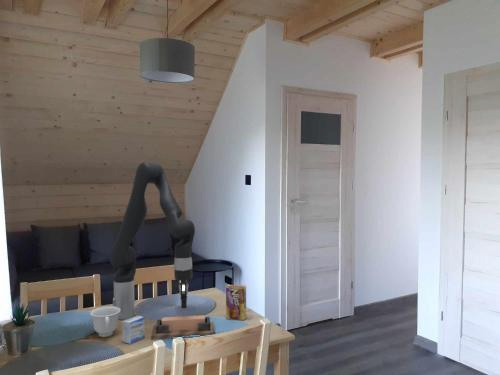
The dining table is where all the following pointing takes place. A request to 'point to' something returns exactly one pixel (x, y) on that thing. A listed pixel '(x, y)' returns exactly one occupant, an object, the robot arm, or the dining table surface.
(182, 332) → the board
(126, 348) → the dining table surface
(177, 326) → the slat
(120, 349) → the dining table surface
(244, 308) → the candy box
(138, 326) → the medicine box
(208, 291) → the dining table surface
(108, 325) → the teacup
